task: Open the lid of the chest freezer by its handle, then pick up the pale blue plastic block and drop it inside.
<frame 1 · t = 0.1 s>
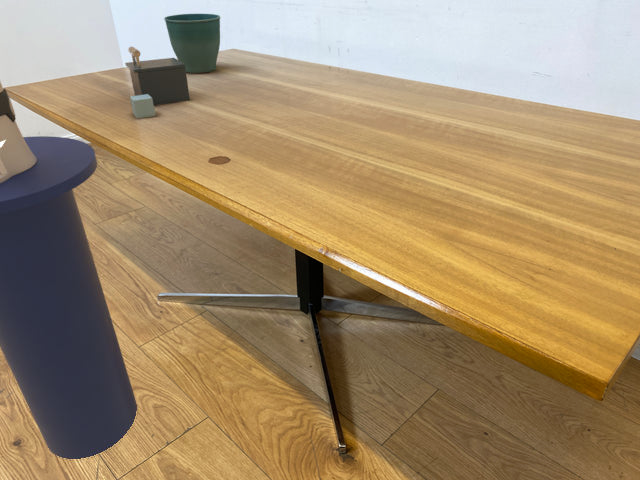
block: (144, 115, 123), on the table
flower pot: (199, 70, 168), on the table
freezer: (162, 98, 136), on the table
freezer lid: (153, 56, 130), point 11 cm above the table, hinge at 0.0°
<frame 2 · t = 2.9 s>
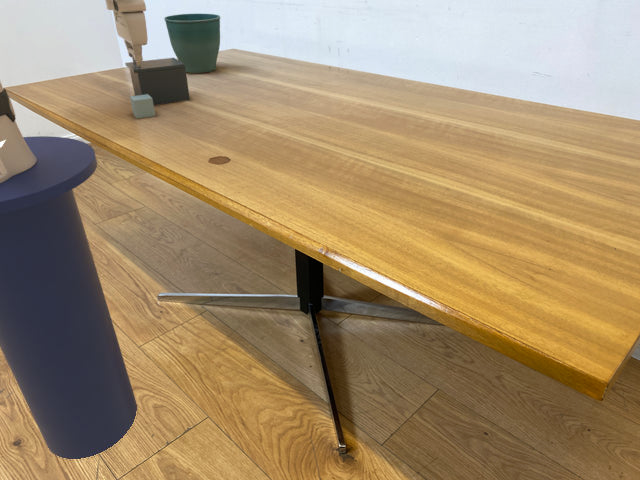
hand: (135, 59, 128), 11 cm above the table, tool pointing down, fingers closed on freezer lid, 6 cm apart
freezer lid: (153, 56, 130), point 11 cm above the table, hinge at -0.1°, touching gripper
everything else where it was.
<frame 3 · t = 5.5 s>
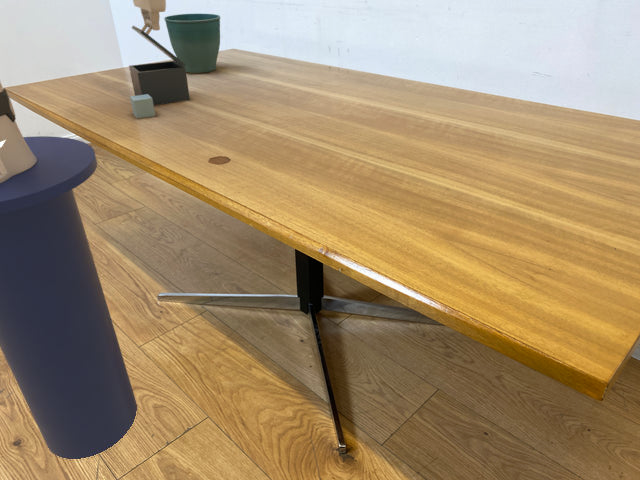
hand: (152, 28, 127), 18 cm above the table, tool pointing down, fingers closed on freezer lid, 6 cm apart
freezer lid: (163, 39, 129), point 15 cm above the table, hinge at 43.6°, touching gripper
everything else where it was.
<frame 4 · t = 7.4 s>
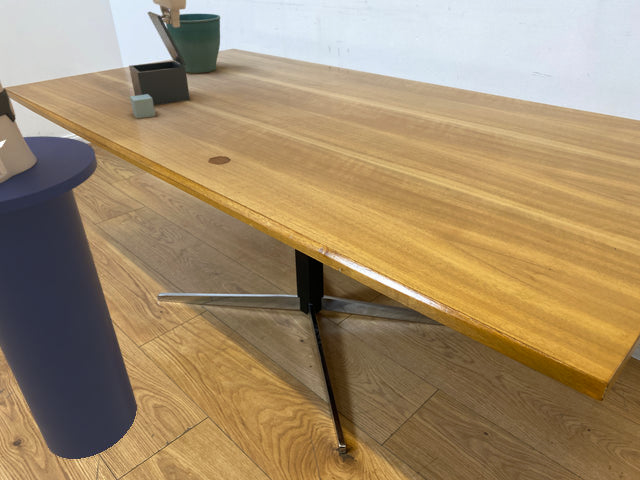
hand: (172, 25, 129), 19 cm above the table, tool pointing down, fingers closed on freezer lid, 6 cm apart
freezer lid: (173, 35, 130), point 16 cm above the table, hinge at 68.9°, touching gripper
everything else where it was.
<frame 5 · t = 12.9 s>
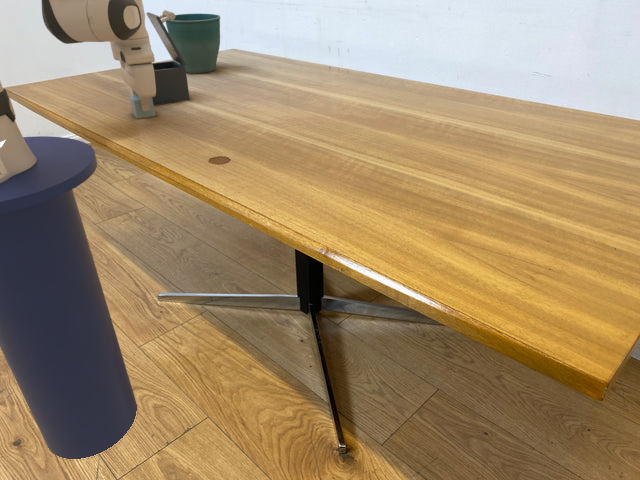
hand: (143, 107, 122), 2 cm above the table, tool pointing down, fingers closed on block, 4 cm apart
block: (144, 115, 123), on the table, touching gripper
freezer lid: (173, 35, 130), point 16 cm above the table, hinge at 67.3°
everything else where it was.
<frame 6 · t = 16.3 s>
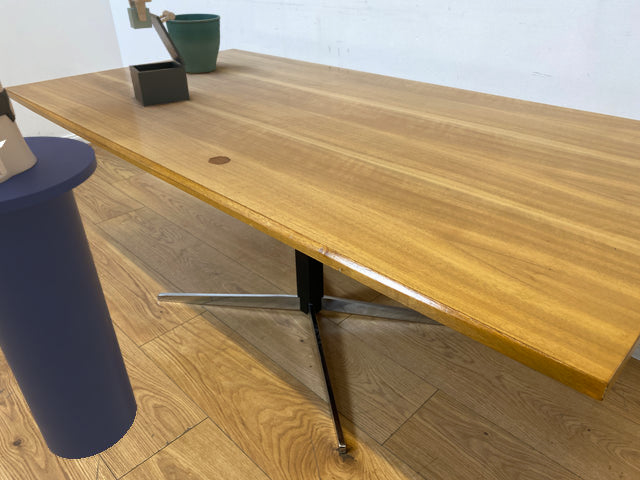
hand: (140, 19, 124), 21 cm above the table, tool pointing down, fingers closed on block, 4 cm apart
block: (141, 27, 125), point 19 cm above the table, touching gripper
everything else where it was.
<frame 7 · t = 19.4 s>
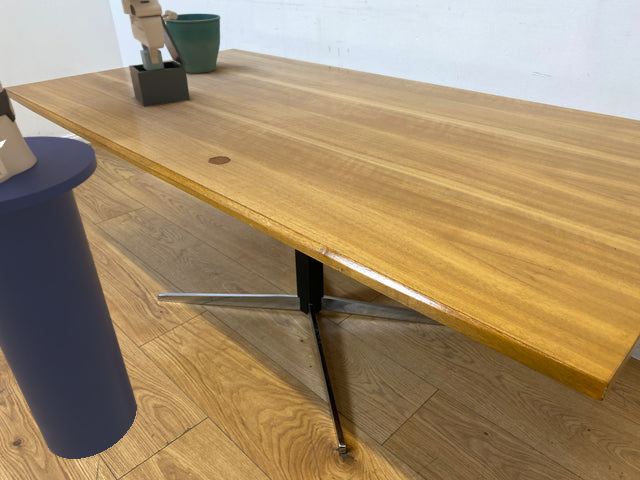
hand: (152, 61, 131), 10 cm above the table, tool pointing down, fingers closed on block, 4 cm apart
block: (153, 68, 132), point 8 cm above the table, touching gripper
freezer lid: (174, 35, 130), point 16 cm above the table, hinge at 70.3°, touching arm
everything else where it was.
when the fingers open (10 cm above the table, at t = 19.6 s): block drops 8 cm, resting on freezer.
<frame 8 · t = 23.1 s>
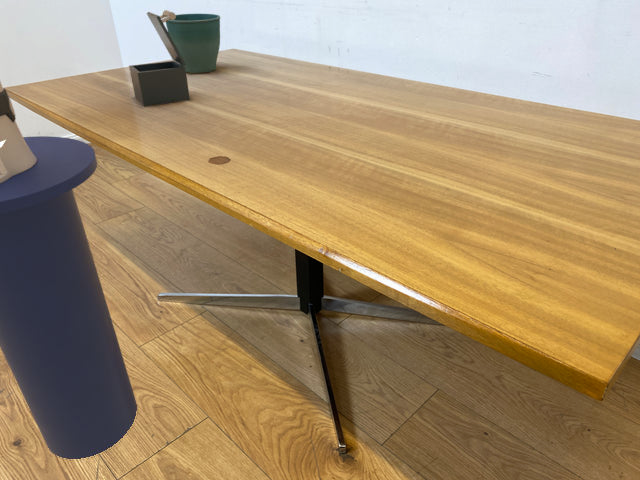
block: (159, 96, 136), point 1 cm above the table, touching freezer
freezer lid: (173, 35, 130), point 16 cm above the table, hinge at 67.8°
everything else where it was.
at the end: freezer lid at +68° (first picture: +0°); block inside the target area in the freezer (0.8 cm from its centre), point 0.8 cm above the freezer's base; flower pot moved 0.2 cm from its start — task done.
